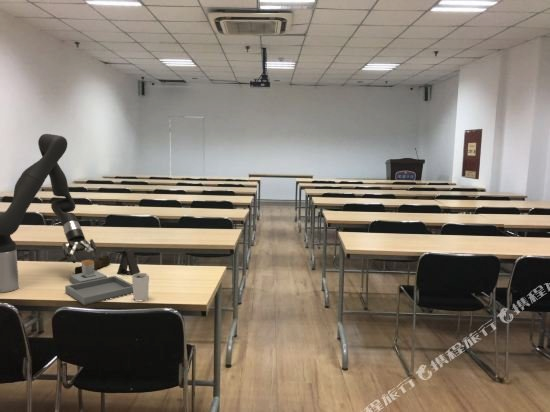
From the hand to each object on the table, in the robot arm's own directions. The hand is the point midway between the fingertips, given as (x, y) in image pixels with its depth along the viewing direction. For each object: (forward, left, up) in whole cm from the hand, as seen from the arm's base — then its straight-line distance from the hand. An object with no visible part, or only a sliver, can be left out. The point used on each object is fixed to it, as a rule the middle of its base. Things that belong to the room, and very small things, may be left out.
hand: (84, 260), depth 201 cm
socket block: (0, -4, -9) cm, 10 cm away
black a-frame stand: (+20, -3, -10) cm, 22 cm away
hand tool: (+10, +14, -10) cm, 20 cm away
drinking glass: (+7, -40, -9) cm, 42 cm away
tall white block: (0, -4, -9) cm, 10 cm away
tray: (-2, -22, -9) cm, 24 cm away
